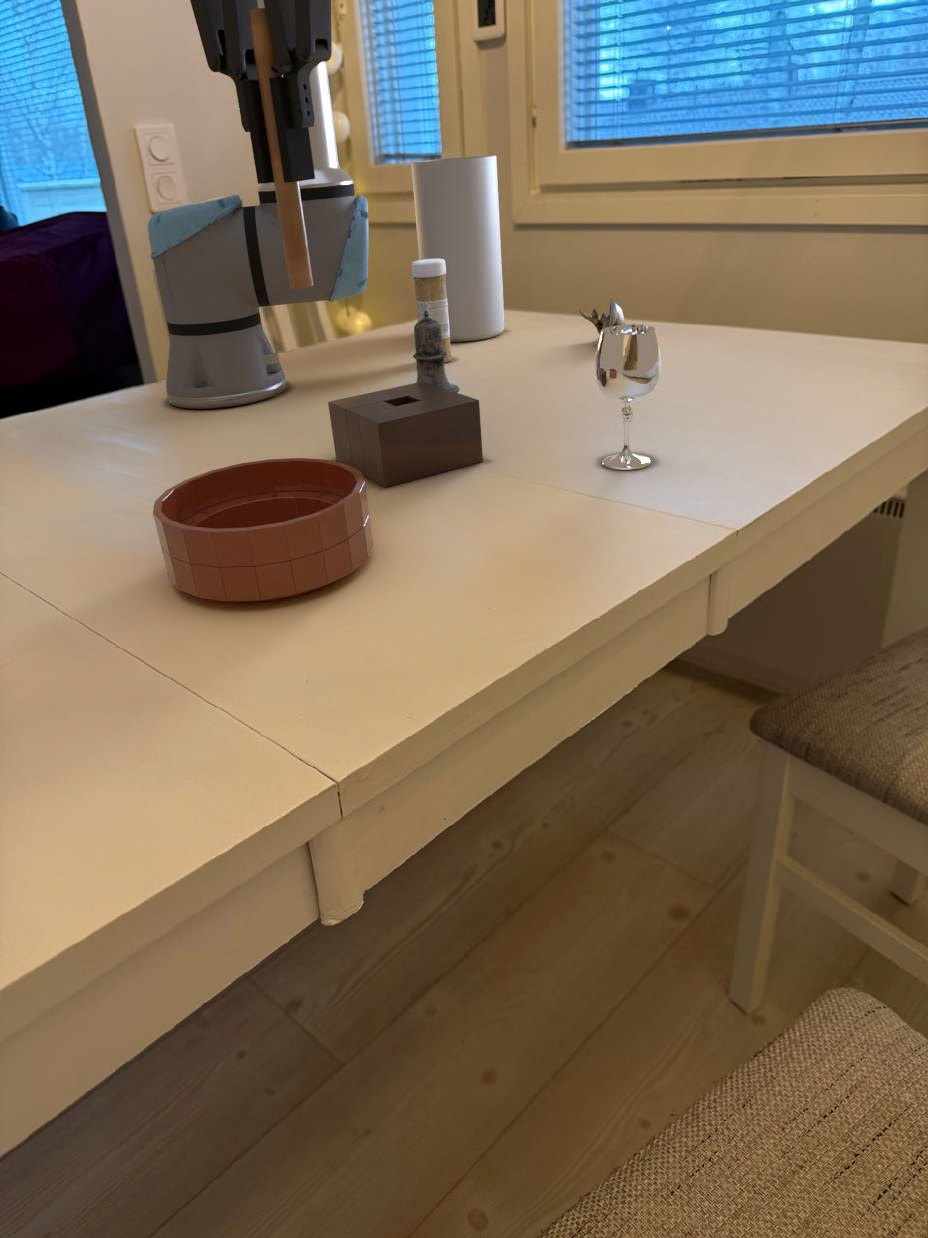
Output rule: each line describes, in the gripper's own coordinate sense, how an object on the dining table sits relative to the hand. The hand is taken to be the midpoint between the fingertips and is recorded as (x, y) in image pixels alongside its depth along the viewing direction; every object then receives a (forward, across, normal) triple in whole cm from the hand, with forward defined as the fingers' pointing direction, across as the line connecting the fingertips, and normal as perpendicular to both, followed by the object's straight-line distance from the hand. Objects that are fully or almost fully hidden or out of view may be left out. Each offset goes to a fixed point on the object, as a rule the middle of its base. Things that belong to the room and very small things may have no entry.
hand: (286, 180), depth 67 cm
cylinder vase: (+27, -26, +71) cm, 80 cm away
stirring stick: (+7, 0, 0) cm, 7 cm away
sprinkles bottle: (+27, -21, +53) cm, 63 cm away
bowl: (+26, +3, -12) cm, 28 cm away
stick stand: (+26, -1, +13) cm, 29 cm away
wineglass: (+26, +20, +19) cm, 38 cm away
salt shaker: (+26, -5, +26) cm, 37 cm away
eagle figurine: (+27, 0, +68) cm, 73 cm away
